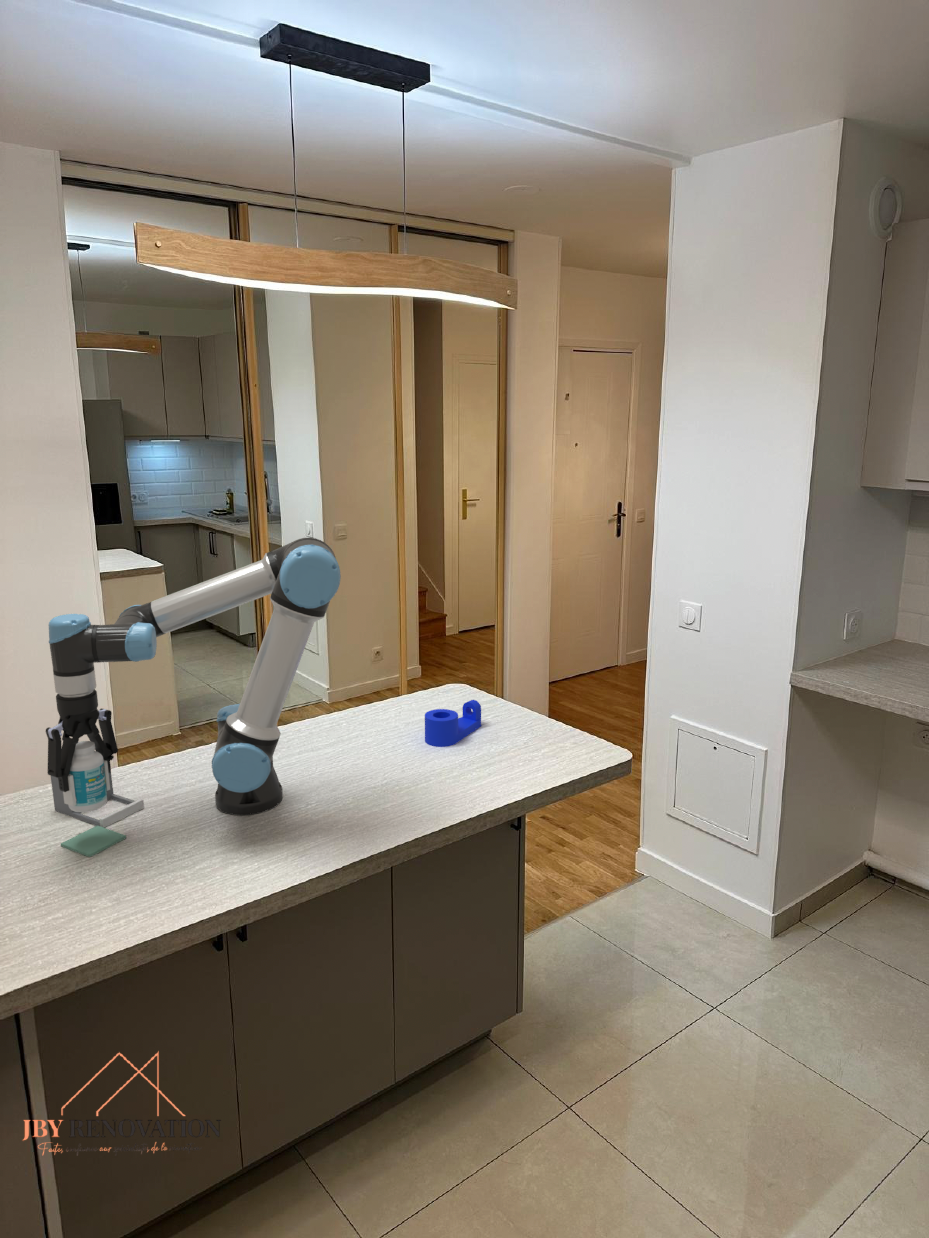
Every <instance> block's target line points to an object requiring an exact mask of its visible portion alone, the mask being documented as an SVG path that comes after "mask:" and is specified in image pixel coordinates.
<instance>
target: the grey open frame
mask: <svg viewBox="0 0 929 1238" xmlns="http://www.w3.org/2000/svg"><path fill="white" fill-rule="evenodd" d="M112 778H113V776H112V771H111V772H110V773H109V782H110V790H108V791H106V792H107V802H108V801H110V800H112V801H114V802H118V803H121V804H125V805H124V806H122V807H120V808H119V809H116V810H114V811H113V812H110V813H108V814H106V815H104V816H102V817H100V818H99V819H97V818H95V817H92V816H90V815H85V814H84V812H75V811H72V810H71V809H70V808H69V805H68V804H65V803H64V796H63V791H60V789H59V781H58V778H56V777H53V776H50V783H51V791H52V799H53V804H54V811H55V812H57V813H59V814H62V815H65V816H68V817H71V818H74V819H76V820H79V821H82V822H85V823H88V824H91V825H93V826H97V825H98V826H101V827H104V828H106V827H109V826H111V825H112V824H115V823H117V822H119V821H120V820H122V819H125V818H127V817H128V816H130V815H133V814H135V813H136V812H139V811H141V810H143V809H144V808H145V802H144V799H143V798H139V799H137V800H133V799H130V798H128V797H124V796H121V795H118V794H114V787H113V779H112Z"/></svg>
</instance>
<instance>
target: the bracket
mask: <svg viewBox="0 0 929 1238" xmlns="http://www.w3.org/2000/svg"><path fill="white" fill-rule="evenodd" d="M481 727H482V706H481V704H480V702H479V701H478V700H476V699H471V700H469V701H466V702H465V703H463V705H462V716H461V717H459V714H458V712H457V711H455V710H452V709H446V708H439V709H438V708H437V709H436V708H435V709H431V710H428V711H426V712H425V713H424V742H425V744H427V745H428V746H431V747H434V748H435V747H436V748H437V747H438V748H447V747H451V746H454V745H457V744H458V743H459V742H461V741H462V740H464V739H465V738H466V737H467V736H469V735H470V734H472V733H474V732H475V731H477V730H478V729H480V728H481Z"/></svg>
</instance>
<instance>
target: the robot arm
mask: <svg viewBox="0 0 929 1238" xmlns="http://www.w3.org/2000/svg"><path fill="white" fill-rule="evenodd" d="M341 579H342V578H341V569H340V566H339V563H338V560H337V558H336V556H335V552H334V551H333V550H332V548H331V547H330V546H329V545H328V543H326V542H325V541H323V540H321V539H318V538H316V537H302V538H298V539H295V540H293V541H291V542H289V543H287V544H285V545H282V546H280V547H278V548H276V549H274V550H271V551H268V552H265V553H264V555H263V558H262V559H261V560H258V561H255V562H252V563H250V564H247V565H245V566H242V567H239V568H236V569H233V570H231V571H229V572H226V573H223V574H220V575H218V576H215V577H213V578H210V579H207V580H204V581H202V582H200V583H197V584H195V585H192V586H189V587H186V588H184V589H181V590H178V591H176V592H175V591H174V592H172V593H170V594H168V595H164V596H162V597H160V598H157V599H155V600H152V601H149V602H147V603H143V604H134V605H131V606H129V607H127V608H125V609H124V610H123V611H122V612H120V614H119V616H118V618H117V620H115V622H114V623H113V624H112V623H111V624H110V623H109V624H92V622H91V621H90V618H89V616H88V615H86V614H85V613H82V614H81V613H68V614H67V613H66V614H62V615H61V614H60V615H58V616H55V617H53V618H51V619H50V621H49V622H48V639H49V640H48V644H49V649H50V656H51V657H50V658H51V663H52V672H53V680H54V681H53V682H54V689H55V690H54V691H55V693H57V694H56V696H55V702H56V710H57V712H58V715H59V720H58V723H57V724H56V725H55V726H53V727H46V729H45V734H46V737H47V775H48V776H50V777H51V776H53V777H56V778H58V781H59V789H60V791H63V796H64V803H65V804H68V805H70V806H75V805H76V797H75V788H74V779H73V775H71V774H69V773H70V768H71V764H72V760H73V755H74V751H75V747H76V744H77V743H78V742H80V738H82V737H83V736H85V735H86V737H87V738H88V739H89V740H88V741H91V742H94V744H95V751H97V752H99V753H100V754H101V755H102V756H103V761H104V771H105V781H106V791H108V790H110V782H109V773H110V772H111V773H112V768H111V767H112V766H111V761H113V760H114V757H115V756H114V754H115V755H116V754H117V753H118V751H119V749H118V744H117V740H116V737H115V733H114V728H113V723H112V714H113V713H112V710H110V709H107V708H106V709H105V708H100V709H98V707H99V700H98V691H97V690H96V688H97V680H96V670H95V663H98V664H99V663H115V662H116V663H118V662H119V663H121V662H134V663H135V662H141V661H149V660H152V659H153V658H154V657H155V656H156V654H157V646H158V645H157V643H158V642H157V641H158V640H157V638H158V637H161V636H163V635H166V634H168V633H170V632H173V631H176V630H178V629H179V630H180V629H181V628H183V627H186V626H189V625H192V624H195V623H197V622H199V621H202V620H205V619H207V618H210V617H214V616H216V615H218V614H221V613H224V612H226V611H228V610H232V609H234V608H237V607H240V606H242V605H245V604H247V603H250V602H253V601H256V600H258V599H260V598H263V597H266V596H269V595H270V596H269V599H270V601H271V603H272V605H273V612H272V613H271V616H270V617H271V618H269V619H270V620H269V623H268V625H267V628H266V630H265V634H264V636H263V638H262V642H261V644H260V648H259V651H258V653H257V655H256V659H255V661H254V664H253V666H252V669H251V672H250V674H249V678H248V680H247V683H246V686H245V689H244V691H243V695H242V697H241V699H240V703H236V704H234V703H233V704H230V705H225V706H223V707H221V708H220V709H218V711H217V713H216V714H217V717H216V723H217V739H216V744H215V748H214V753H213V756H212V759H211V770H212V773H213V774H212V775H213V777H214V779H215V780H216V782H217V789H216V790H215V793H214V798H215V799H214V800H215V806H216V808H217V809H218V810H219V811H220V812H222V813H225V814H229V815H232V816H235V815H236V816H249V815H255V814H260V813H265V812H266V811H269V810H272V809H273V808H275V807H277V806H278V805H280V804H281V803H282V800H283V797H284V796H283V795H284V794H283V786H282V784H281V782H280V780H279V777H278V775H277V772H276V770H275V767H274V757H273V756H274V754H275V752H276V748H277V745H278V743H279V740H280V736H281V731H280V729H279V727H278V722H279V719H280V716H281V713H282V711H283V708H284V705H285V703H286V700H287V698H288V695H289V692H290V689H291V686H292V684H293V681H294V679H295V676H296V674H297V671H298V668H299V665H300V663H301V660H302V657H303V654H304V651H305V649H306V646H307V643H308V640H309V638H310V635H311V633H312V629H313V627H314V624H315V623H316V622H317V621H320V620H321V619H324V618H325V616H326V613H327V610H328V609H329V605H330V603H331V600H333V598H334V597H335V595H336V593H337V592H338V590H339V587H340V583H341ZM97 721H98V725H99V728H98V726H97V725H96V723H97ZM99 729H100V730H99Z"/></svg>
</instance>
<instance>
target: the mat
mask: <svg viewBox="0 0 929 1238" xmlns="http://www.w3.org/2000/svg"><path fill="white" fill-rule="evenodd" d="M125 839H127V835H126V834H122V833H120V832H117V831H115V830H111V829H110V828H109V829H108V828H106V827H105V828H104V827H101V826H98V825H97V826H96V825H94V826H93V827H91V828H90V829H87V830H85V831H83V832H81V833H80V834H76V835H75V836H73V837H71V838H69V839H66V840H65V841H63V842H61V843H60V847H63V848H64V849H66V850H70V851H72V852H75V853H77V854H80V855H82V856H86V857H88V858H91V857H94V856H95V855H96V854H98V853H100V852H102V851H104V850H106V849H108V848H110V847H112V846H113V845H116V844H117V843H119V842H121V841H123V840H125Z"/></svg>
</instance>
